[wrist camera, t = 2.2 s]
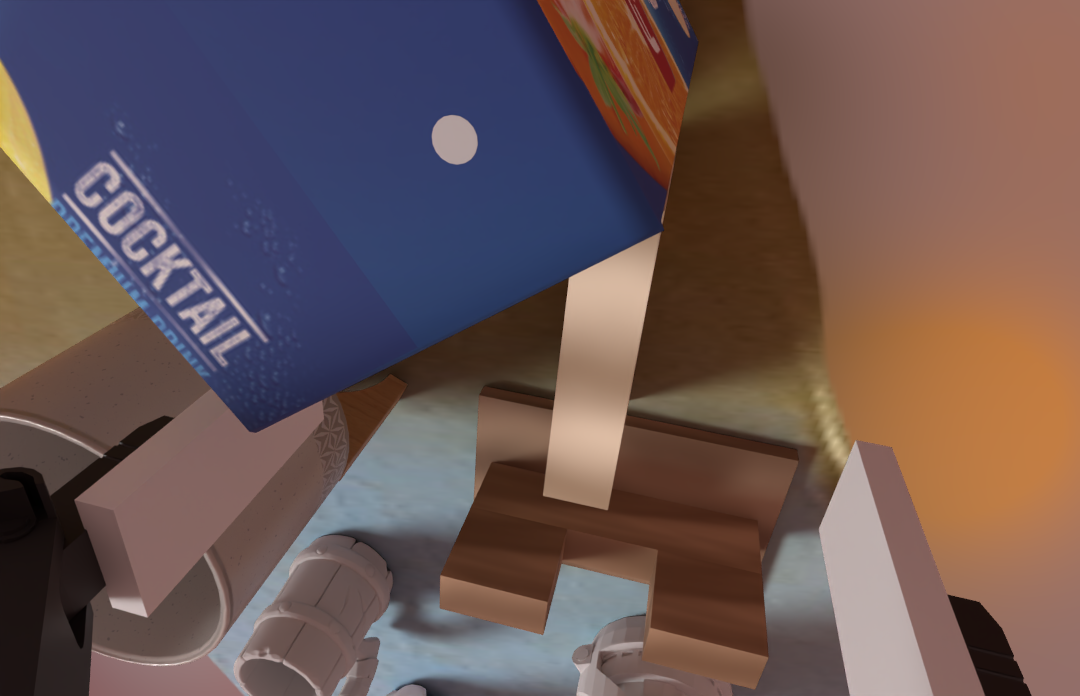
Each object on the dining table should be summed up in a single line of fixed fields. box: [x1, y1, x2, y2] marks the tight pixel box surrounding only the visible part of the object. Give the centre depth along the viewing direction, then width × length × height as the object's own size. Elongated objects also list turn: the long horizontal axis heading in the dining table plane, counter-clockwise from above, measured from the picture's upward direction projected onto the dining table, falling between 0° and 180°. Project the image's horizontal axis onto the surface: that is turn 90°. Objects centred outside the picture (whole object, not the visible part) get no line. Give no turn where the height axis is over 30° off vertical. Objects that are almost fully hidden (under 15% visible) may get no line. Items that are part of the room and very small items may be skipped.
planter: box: [0, 307, 407, 666], centre depth 33 cm, size 13×13×18 cm
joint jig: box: [440, 386, 799, 689], centre depth 37 cm, size 12×18×10 cm, turn 85°
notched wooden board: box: [543, 151, 677, 510], centre depth 30 cm, size 14×3×9 cm, turn 175°
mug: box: [234, 535, 393, 696], centre depth 46 cm, size 8×12×12 cm, turn 16°
